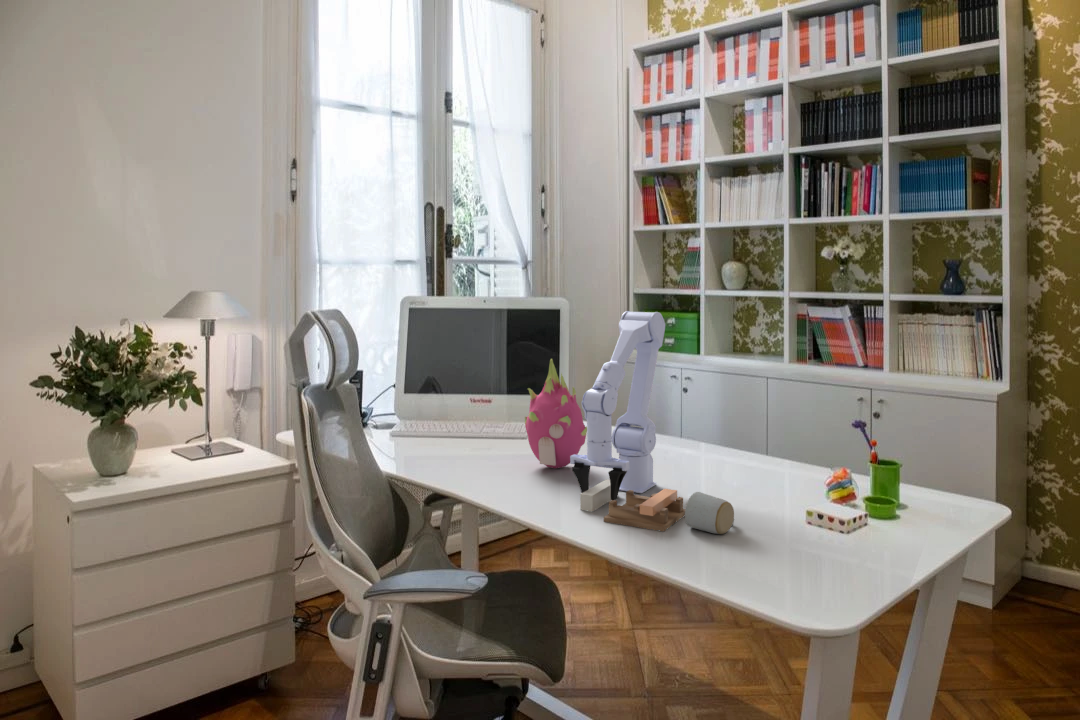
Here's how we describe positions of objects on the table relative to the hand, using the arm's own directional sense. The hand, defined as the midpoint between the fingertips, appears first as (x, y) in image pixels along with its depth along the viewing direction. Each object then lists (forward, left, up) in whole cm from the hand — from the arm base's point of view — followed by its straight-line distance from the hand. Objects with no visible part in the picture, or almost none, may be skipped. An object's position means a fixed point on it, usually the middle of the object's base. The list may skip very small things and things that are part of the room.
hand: (599, 496), depth 191 cm
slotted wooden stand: (+5, +14, -1) cm, 15 cm away
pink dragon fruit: (-23, -25, -2) cm, 34 cm away
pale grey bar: (0, 0, -2) cm, 2 cm away
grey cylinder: (+5, +29, -2) cm, 30 cm away
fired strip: (+5, +17, +2) cm, 18 cm away
